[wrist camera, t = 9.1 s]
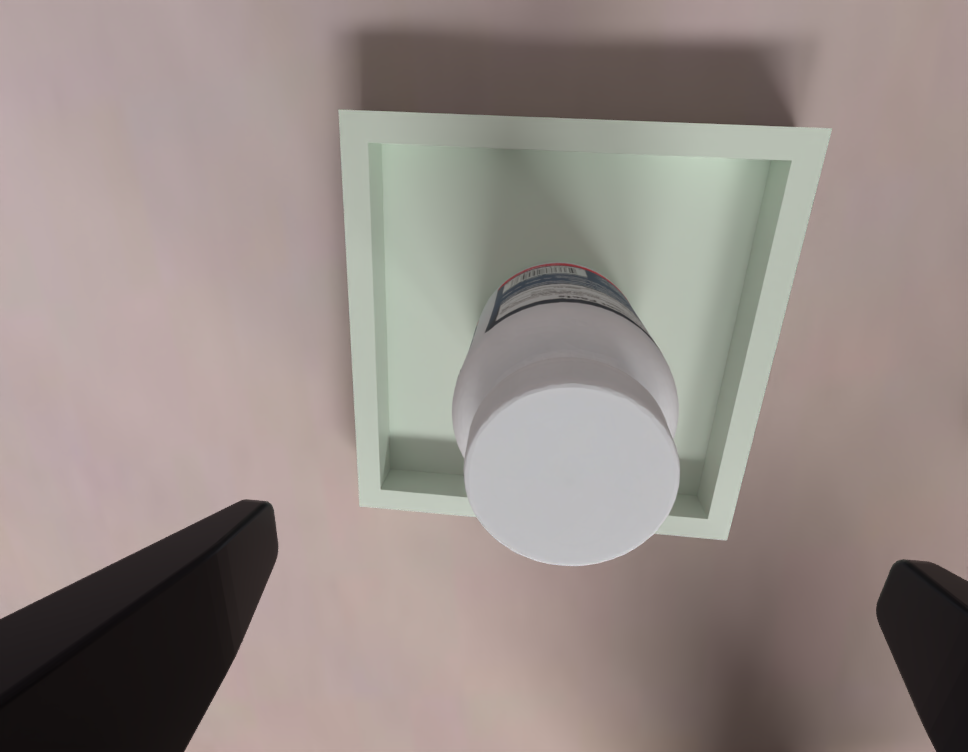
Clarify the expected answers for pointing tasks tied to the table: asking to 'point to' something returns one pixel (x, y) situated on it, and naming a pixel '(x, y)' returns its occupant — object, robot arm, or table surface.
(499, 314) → the pill bottle
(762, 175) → the tray
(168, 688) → the robot arm
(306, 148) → the table surface
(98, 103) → the table surface
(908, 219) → the table surface
